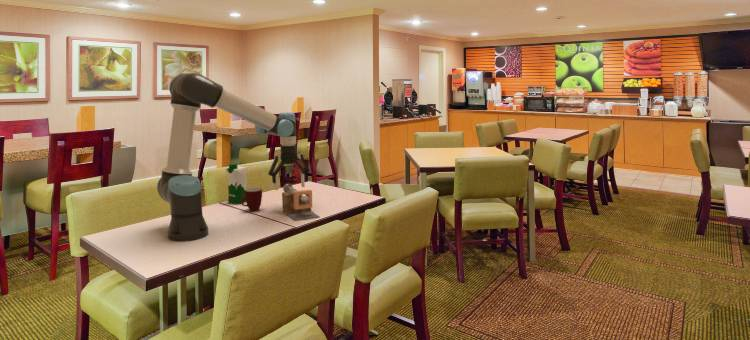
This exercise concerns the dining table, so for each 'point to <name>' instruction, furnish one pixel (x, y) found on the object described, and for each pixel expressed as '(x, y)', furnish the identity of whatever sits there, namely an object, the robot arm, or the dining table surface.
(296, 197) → the frame
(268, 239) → the dining table surface
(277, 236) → the dining table surface
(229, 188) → the milk carton
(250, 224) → the dining table surface
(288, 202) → the cradle block
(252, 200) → the mug
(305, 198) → the shaft
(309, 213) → the mat
